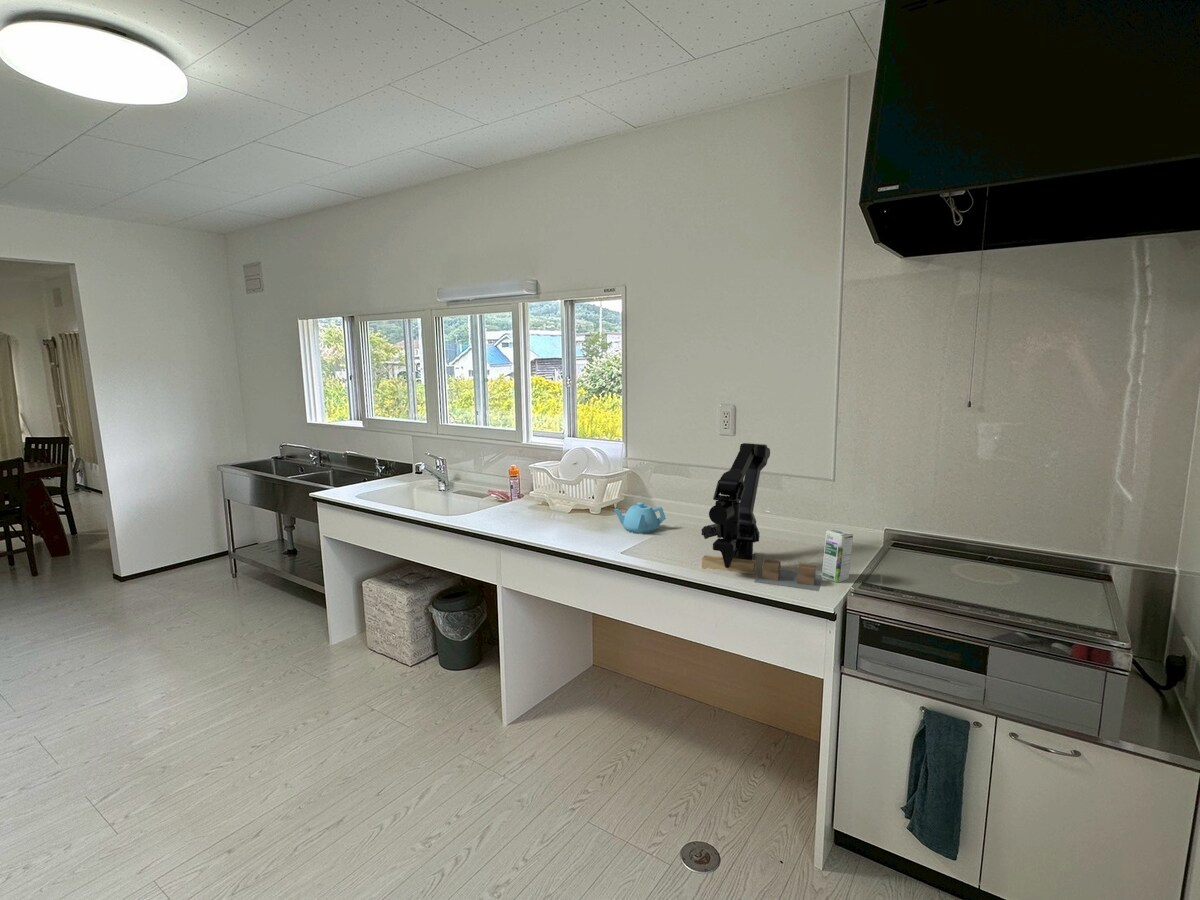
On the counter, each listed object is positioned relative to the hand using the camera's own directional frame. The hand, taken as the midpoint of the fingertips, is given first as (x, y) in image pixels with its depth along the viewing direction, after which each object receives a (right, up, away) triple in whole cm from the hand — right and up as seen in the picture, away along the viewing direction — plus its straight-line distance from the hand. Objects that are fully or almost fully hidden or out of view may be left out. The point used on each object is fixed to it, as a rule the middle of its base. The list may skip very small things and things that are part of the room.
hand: (728, 565), depth 192 cm
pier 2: (+20, -3, -12) cm, 24 cm away
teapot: (-25, +5, +47) cm, 53 cm away
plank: (0, -2, 0) cm, 2 cm away
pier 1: (+11, -2, -8) cm, 14 cm away
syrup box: (+30, -2, -9) cm, 31 cm away
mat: (+16, -2, -9) cm, 19 cm away
